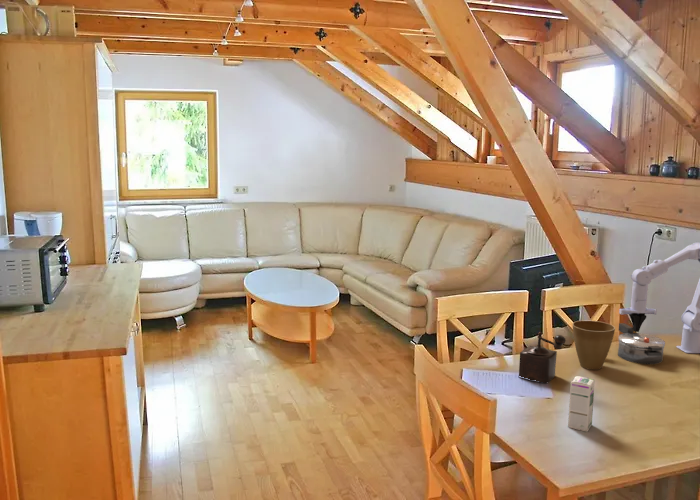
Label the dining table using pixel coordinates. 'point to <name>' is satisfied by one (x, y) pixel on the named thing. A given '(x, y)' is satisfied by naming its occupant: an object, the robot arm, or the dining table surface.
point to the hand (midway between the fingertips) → (636, 331)
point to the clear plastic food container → (639, 354)
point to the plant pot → (592, 342)
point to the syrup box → (581, 403)
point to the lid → (639, 339)
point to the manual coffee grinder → (540, 360)
